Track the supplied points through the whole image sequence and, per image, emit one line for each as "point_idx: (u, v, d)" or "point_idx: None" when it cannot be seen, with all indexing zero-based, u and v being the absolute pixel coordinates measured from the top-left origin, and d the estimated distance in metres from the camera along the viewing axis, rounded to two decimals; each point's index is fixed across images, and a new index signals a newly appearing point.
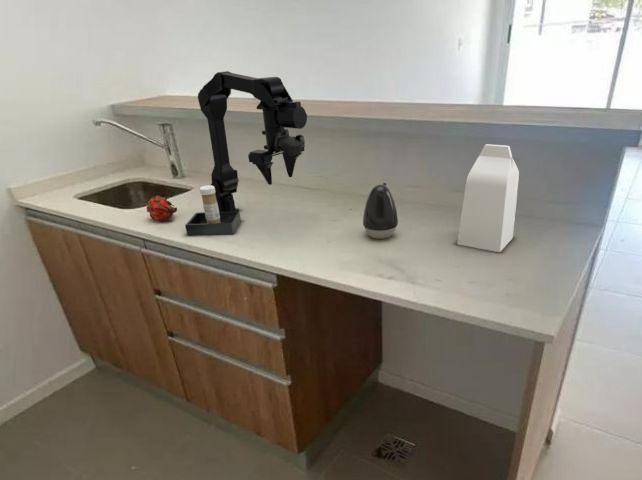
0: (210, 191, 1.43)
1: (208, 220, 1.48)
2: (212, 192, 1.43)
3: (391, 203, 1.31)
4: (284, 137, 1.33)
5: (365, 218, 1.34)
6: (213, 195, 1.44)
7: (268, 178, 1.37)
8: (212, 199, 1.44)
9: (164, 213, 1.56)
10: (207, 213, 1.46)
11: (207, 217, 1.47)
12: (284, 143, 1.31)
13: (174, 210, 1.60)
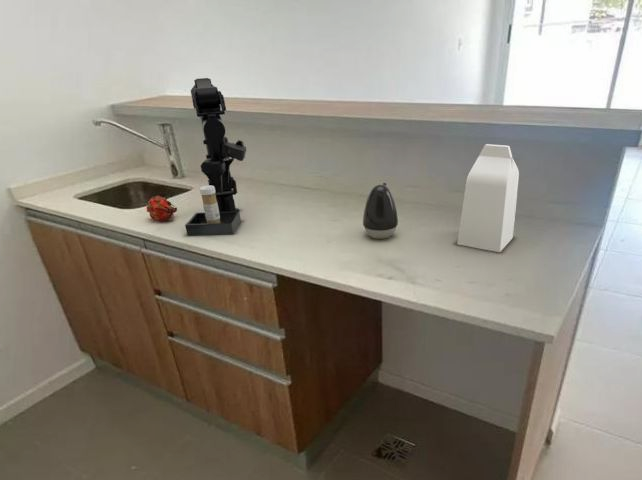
0: (210, 191, 1.43)
1: (208, 220, 1.48)
2: (212, 192, 1.43)
3: (391, 203, 1.31)
4: (228, 144, 1.37)
5: (365, 218, 1.34)
6: (213, 195, 1.44)
7: (220, 186, 1.38)
8: (212, 199, 1.44)
9: (164, 213, 1.56)
10: (207, 213, 1.46)
11: (207, 217, 1.47)
12: (233, 149, 1.35)
13: (174, 210, 1.60)
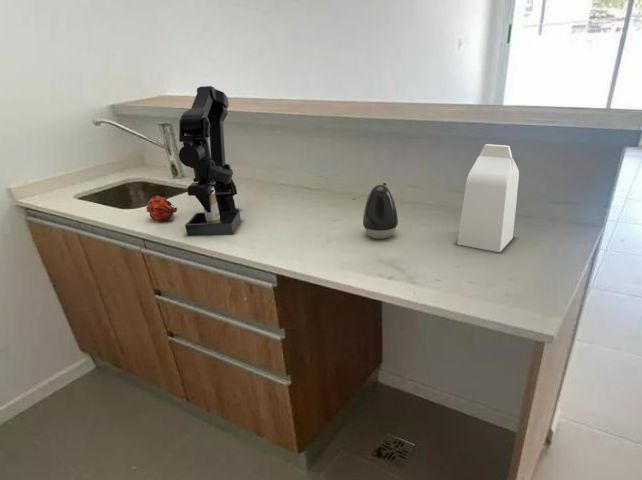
0: None
1: (208, 220, 1.48)
2: None
3: (391, 203, 1.31)
4: (215, 168, 1.40)
5: (365, 218, 1.34)
6: (213, 195, 1.44)
7: (208, 206, 1.44)
8: (212, 199, 1.44)
9: (164, 213, 1.56)
10: (207, 213, 1.46)
11: (207, 217, 1.47)
12: (219, 173, 1.39)
13: (174, 210, 1.60)
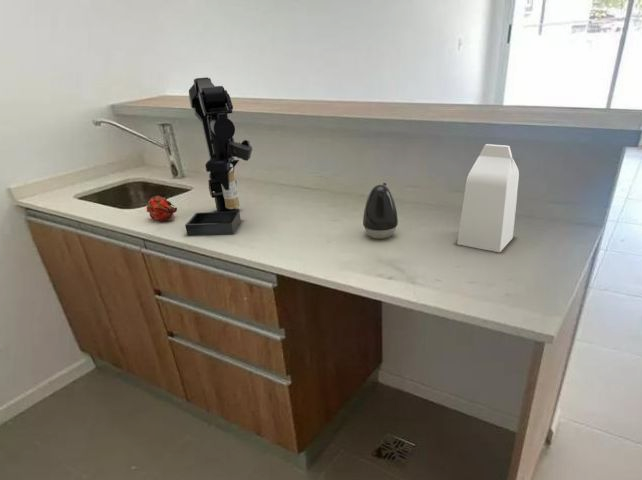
0: None
1: (226, 199, 1.44)
2: (230, 170, 1.39)
3: (391, 203, 1.31)
4: (234, 143, 1.36)
5: (365, 218, 1.34)
6: (231, 173, 1.40)
7: (226, 183, 1.40)
8: (230, 177, 1.40)
9: (164, 213, 1.56)
10: (225, 191, 1.42)
11: (225, 195, 1.43)
12: (238, 149, 1.35)
13: (174, 210, 1.60)
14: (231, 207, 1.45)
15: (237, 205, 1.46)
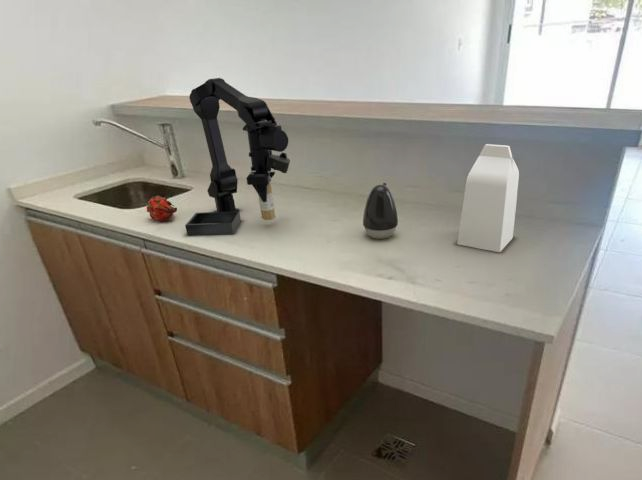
0: None
1: (263, 210, 1.45)
2: None
3: (391, 203, 1.31)
4: (273, 156, 1.38)
5: (365, 218, 1.34)
6: (269, 185, 1.42)
7: (264, 195, 1.41)
8: (268, 189, 1.42)
9: (164, 213, 1.56)
10: (262, 203, 1.44)
11: (262, 207, 1.45)
12: (278, 162, 1.37)
13: (174, 210, 1.60)
14: (268, 218, 1.47)
15: (273, 216, 1.47)
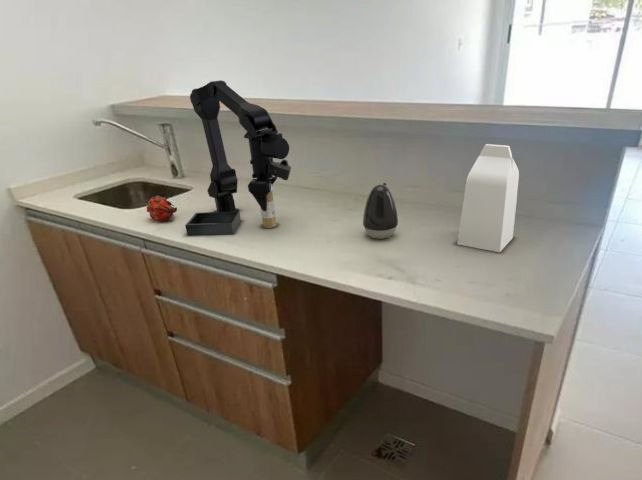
0: None
1: (264, 218, 1.47)
2: None
3: (391, 203, 1.31)
4: (274, 163, 1.39)
5: (365, 218, 1.34)
6: (271, 193, 1.44)
7: (265, 205, 1.41)
8: (270, 196, 1.44)
9: (164, 213, 1.56)
10: (264, 211, 1.46)
11: (263, 215, 1.46)
12: (279, 169, 1.38)
13: (174, 210, 1.60)
14: (269, 226, 1.48)
15: (274, 224, 1.49)
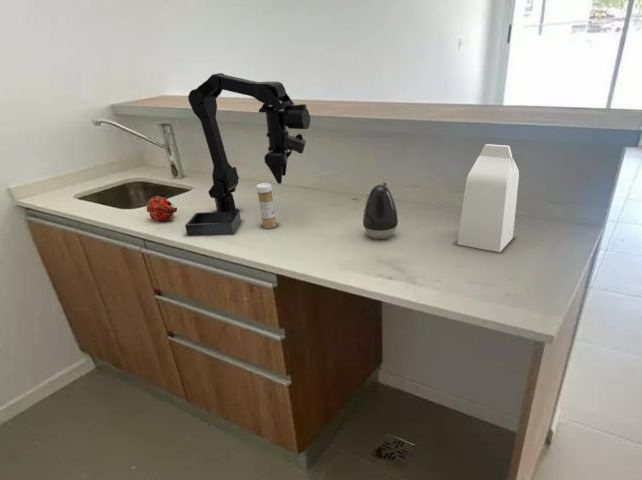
0: (267, 189, 1.42)
1: (264, 218, 1.47)
2: (269, 190, 1.43)
3: (391, 203, 1.31)
4: (289, 137, 1.43)
5: (365, 218, 1.34)
6: (270, 193, 1.43)
7: (280, 177, 1.44)
8: (269, 196, 1.44)
9: (164, 213, 1.56)
10: (263, 211, 1.46)
11: (263, 215, 1.46)
12: (294, 142, 1.42)
13: (174, 210, 1.60)
14: (269, 226, 1.48)
15: (274, 224, 1.49)
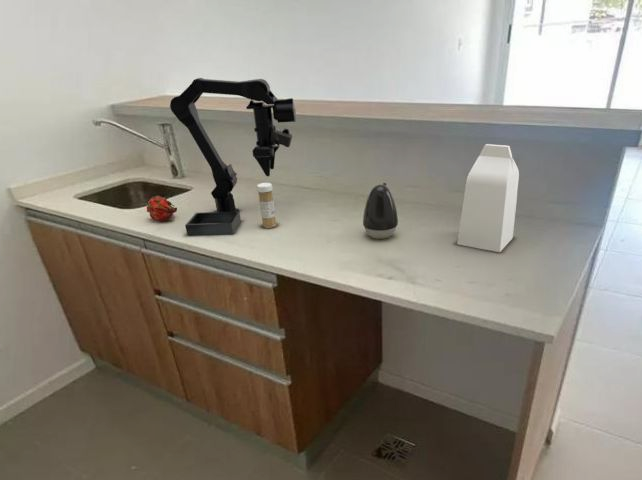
0: (267, 189, 1.42)
1: (264, 218, 1.47)
2: (269, 189, 1.43)
3: (391, 203, 1.31)
4: (276, 131, 1.50)
5: (365, 218, 1.34)
6: (270, 192, 1.44)
7: (268, 170, 1.51)
8: (269, 196, 1.44)
9: (164, 213, 1.56)
10: (263, 210, 1.46)
11: (263, 215, 1.47)
12: (281, 136, 1.48)
13: (174, 210, 1.60)
14: (268, 226, 1.48)
15: (274, 224, 1.49)
